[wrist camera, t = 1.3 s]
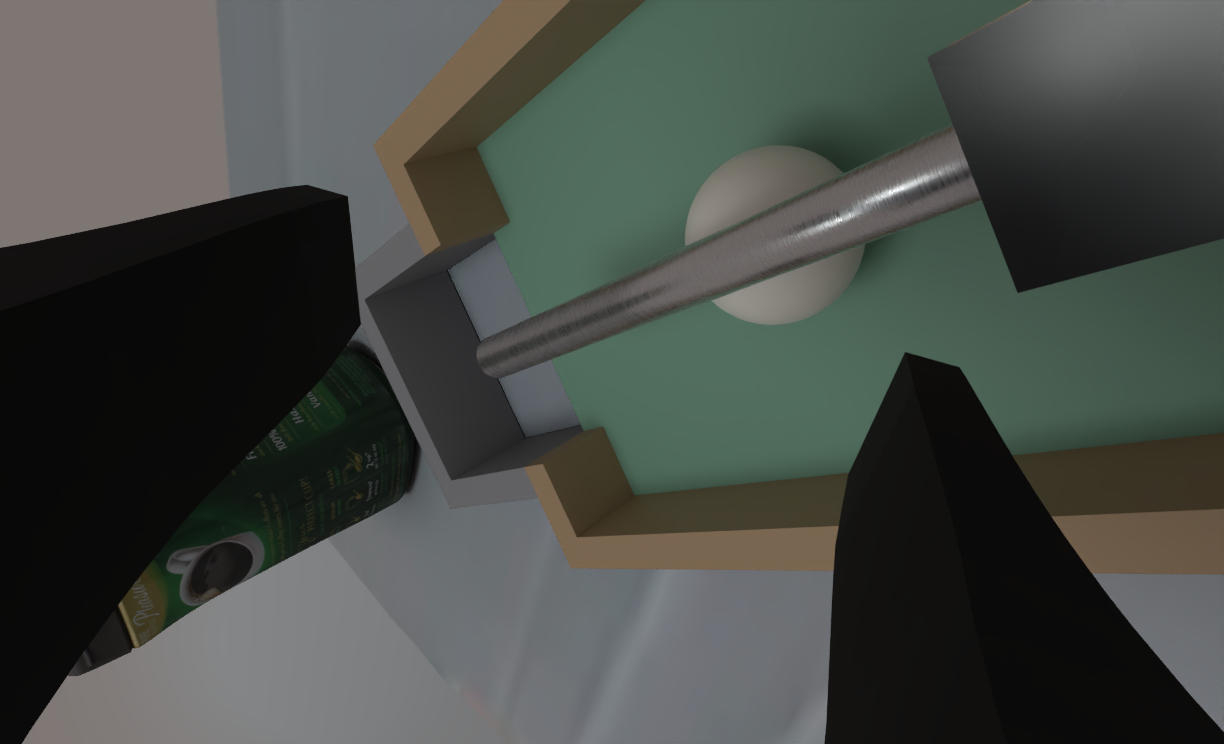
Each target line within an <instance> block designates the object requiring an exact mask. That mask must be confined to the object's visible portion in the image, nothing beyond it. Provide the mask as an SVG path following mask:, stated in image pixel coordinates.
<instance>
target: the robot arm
mask: <svg viewBox="0 0 1224 744" xmlns="http://www.w3.org/2000/svg"><path fill="white" fill-rule="evenodd" d="M360 325H361V319H360V310H359V300H358V290H357V281H356V271H355V261H354V252H353V242H352V233H351V223H350V213H349V204H348V196H345V195H341V194H338V193H334V192H331V191H327V190H323V189H320V188H316V187H313V186H309V185H302V186H293V187H285V188H279V189H273V190H268V191H262V192H257V193H253V194H248V195H243V196H239V197H234V198H230V199H225V200H221V201H217V202H212V203H208V204H204V205H200V206H196V207H191V208H187V209H183V210H178V211H174V212H170V213H166V214H162V215H157V216H153V217H149V218H144V219H140V220H136V221H131V222H127V223H123V224H118V225H113V226H108V227H104V228H98V229H94V230H89V231H84V232H79V233H75V234H70V235H65V236H60V237H55V238H50V239H45V240H41V241H36V242H31V243H26V244H20V245H15V246H9V247H3V248H0V744H22V742H23V741H24V739H25V737H26V736H27V734H28V733H29V731H30V730H31V728H32V726H33V725H34V724H35V722H36V721H37V719H38V718H39V716H40V715H41V713H42V712H43V710H44V709H45V708H46V706H47V705H48V703H49V702H50V700H51V699H52V697H53V696H54V695H55V693H56V692H57V690H58V689H59V687H60V686H61V684H62V683H63V681H64V680H65V678H66V677H67V675H68V674H69V673H70V671H71V670H72V668H73V667H74V665H75V664H76V662H77V661H78V659H79V658H80V657H81V655H82V654H83V652H84V651H85V649H86V648H87V647H88V645H89V644H90V643H91V641H92V640H93V639H94V637H95V636H96V634H97V633H98V632H99V630H100V629H101V628H102V626H103V625H104V624H105V622H106V621H107V620H108V618H109V617H110V616H111V614H112V613H113V612H114V610H115V609H116V608H117V606H118V605H119V604H120V602H121V601H122V599H123V598H124V597H125V595H126V594H127V593H128V591H129V590H130V589H131V587H132V586H133V585H134V583H135V582H136V581H137V580H138V578H139V577H140V576H141V575H142V573H143V572H144V571H145V569H146V568H147V567H148V566H149V564H150V563H151V562H152V561H153V559H154V558H155V557H156V556H157V554H158V553H159V552H160V551H161V549H162V548H163V547H164V546H165V544H166V543H167V542H168V541H169V539H170V538H171V537H172V536H173V534H174V533H175V532H176V531H177V529H178V528H179V527H180V526H181V524H182V523H183V522H184V521H185V520H186V519H187V518H188V516H189V515H190V514H191V513H192V512H193V511H194V510H195V509H196V508H197V507H198V505H199V504H200V503H201V502H202V501H203V500H204V499H205V498H206V497H207V496H208V494H209V493H210V492H211V491H212V490H213V489H214V488H215V487H216V486H217V485H218V484H219V483H220V482H221V481H222V480H223V479H224V478H225V477H226V476H227V475H228V474H229V473H230V472H231V471H232V470H233V469H234V468H235V467H236V466H237V465H238V464H239V463H240V462H241V461H242V460H243V459H244V458H245V457H246V456H247V455H248V454H249V453H250V452H251V451H252V450H253V449H254V448H255V447H256V446H257V445H258V444H259V443H260V442H261V441H262V440H263V439H264V438H265V437H266V436H267V435H268V434H269V433H270V432H271V431H272V430H273V429H274V428H275V427H276V426H277V425H278V424H279V423H280V422H281V421H282V420H283V419H284V418H285V417H286V416H287V415H288V414H289V413H290V412H291V411H292V409H293V408H294V407H295V406H296V405H297V404H298V403H299V402H300V401H301V400H302V399H303V398H304V397H305V396H306V395H307V394H308V393H309V392H310V391H311V390H312V389H313V388H314V387H315V385H316V384H317V383H318V382H319V381H320V380H321V379H322V378H323V376H324V375H325V374H326V372H327V371H328V370H329V368H330V367H331V366H332V365H333V363H334V362H335V361H336V359H337V358H338V357H339V355H340V354H341V352H342V351H343V350H344V348H345V347H346V345H347V344H348V342H349V341H350V339H351V338H352V336H353V335H354V334H355V332H356V331H357V329H358V328H359V326H360ZM825 744H1224V732H1223V731H1222V730H1221V729H1220V727H1219V726H1218V725H1217V724H1216V723H1215V722H1214V721H1213V720H1212V719H1211V717H1210V716H1209V715H1208V714H1207V713H1206V712H1205V711H1204V710H1203V709H1202V708H1201V706H1200V705H1199V704H1198V703H1197V702H1196V701H1195V700H1194V699H1193V698H1192V696H1191V695H1190V694H1189V693H1188V692H1187V691H1186V689H1185V688H1184V687H1183V686H1182V685H1181V684H1180V682H1179V681H1178V680H1177V679H1176V678H1175V676H1174V675H1173V674H1172V673H1171V672H1170V670H1169V669H1168V668H1167V667H1166V666H1165V665H1164V663H1163V662H1162V661H1161V660H1160V659H1159V657H1158V656H1157V655H1156V654H1155V653H1154V651H1153V650H1152V649H1151V648H1150V647H1149V646H1148V644H1147V643H1146V642H1145V641H1144V640H1143V638H1142V637H1141V636H1140V635H1139V634H1138V632H1137V631H1136V630H1135V629H1134V628H1133V627H1132V625H1131V624H1130V623H1129V621H1128V620H1127V619H1126V618H1125V616H1124V615H1123V614H1122V613H1121V611H1120V610H1119V609H1118V608H1117V606H1116V605H1115V604H1114V602H1113V601H1112V600H1111V599H1110V597H1109V596H1108V595H1107V593H1106V592H1105V591H1104V589H1103V588H1102V587H1101V585H1100V584H1099V583H1098V581H1097V580H1096V578H1095V577H1094V576H1093V574H1092V573H1091V572H1090V570H1089V569H1088V567H1087V566H1086V565H1085V563H1084V562H1083V561H1082V559H1081V558H1080V556H1079V555H1078V554H1077V552H1076V551H1075V550H1074V548H1073V547H1072V545H1071V544H1070V543H1069V541H1068V540H1067V539H1066V537H1065V536H1064V534H1063V533H1062V531H1061V530H1060V528H1059V527H1058V525H1057V524H1056V522H1055V521H1054V519H1053V518H1052V516H1051V515H1050V514H1049V512H1048V511H1047V509H1046V508H1045V506H1044V505H1043V503H1042V501H1041V500H1040V498H1039V497H1038V495H1037V494H1036V492H1035V491H1034V489H1033V488H1032V486H1031V484H1030V483H1029V481H1028V480H1027V478H1026V477H1025V475H1024V473H1023V472H1022V470H1021V469H1020V467H1019V465H1018V464H1017V462H1016V461H1015V459H1014V457H1013V456H1012V454H1011V452H1010V451H1009V449H1008V447H1007V446H1006V444H1005V442H1004V441H1003V439H1002V437H1001V436H1000V434H999V432H998V431H997V429H996V427H995V426H994V424H993V422H992V421H991V419H990V417H989V415H988V414H987V412H986V410H985V409H984V407H983V405H982V403H981V402H980V400H979V398H978V397H977V395H976V393H975V391H974V390H973V388H972V386H971V385H970V383H969V381H968V380H967V378H966V376H965V375H964V373H963V372H962V370H961V369H960V367H957V366H954V365H950V364H947V363H943V362H939V361H936V360H932V359H929V358H925V357H922V356H918V355H914V354H911V353H907V352H905V353H904V355H903V358H902V360H901V362H900V364H899V366H898V368H897V371H896V373H895V375H894V377H893V379H892V381H891V383H890V386H889V388H888V390H887V392H886V394H885V396H884V399H883V401H882V403H881V405H880V407H879V409H878V411H877V414H876V416H875V418H874V420H873V422H872V424H871V427H870V429H869V431H868V433H867V435H866V437H865V439H864V442H863V444H862V446H861V448H860V450H859V452H858V455H857V457H856V459H855V461H854V463H853V465H852V467H851V470H850V472H849V474H848V478H847V483H846V488H845V494H844V499H843V504H842V510H841V515H840V521H839V527H838V532H837V538H836V544H835V556H834V574H833V594H832V614H831V637H830V659H829V681H828V703H827V723H826V734H825Z"/></svg>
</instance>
